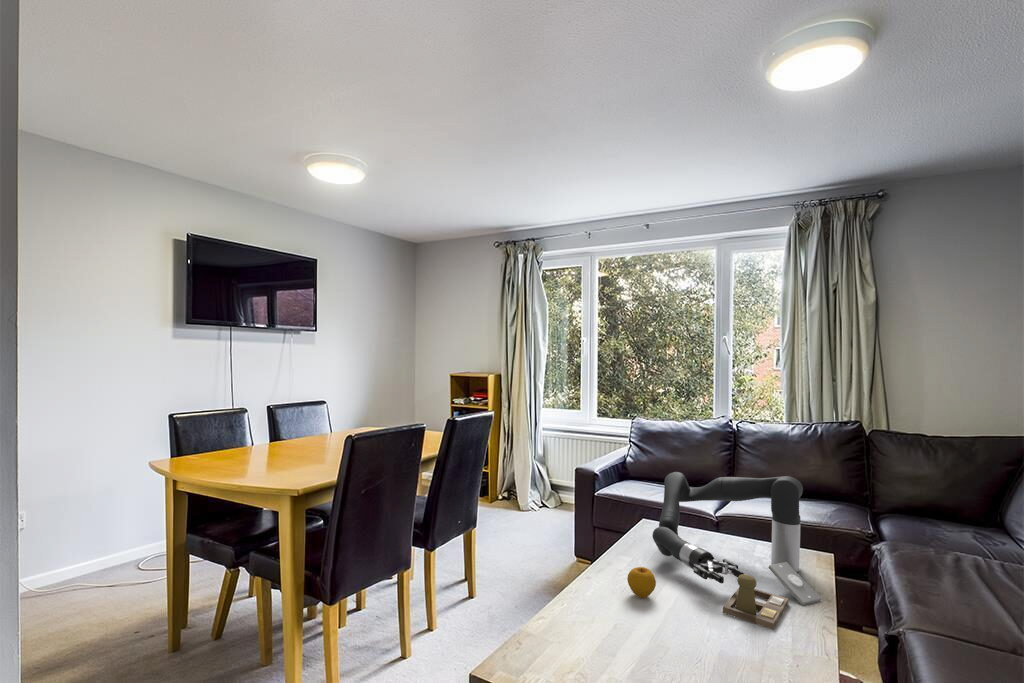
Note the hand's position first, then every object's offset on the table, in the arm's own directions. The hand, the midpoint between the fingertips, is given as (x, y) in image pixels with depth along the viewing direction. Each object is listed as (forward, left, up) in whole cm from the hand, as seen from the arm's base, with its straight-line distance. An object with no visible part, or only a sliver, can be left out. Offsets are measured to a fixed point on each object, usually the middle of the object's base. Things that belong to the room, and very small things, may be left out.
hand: (733, 578), depth 162 cm
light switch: (-21, +13, -8) cm, 26 cm away
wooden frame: (-2, +7, -8) cm, 10 cm away
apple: (+15, -23, -8) cm, 29 cm away
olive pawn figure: (+3, +5, -8) cm, 10 cm away
